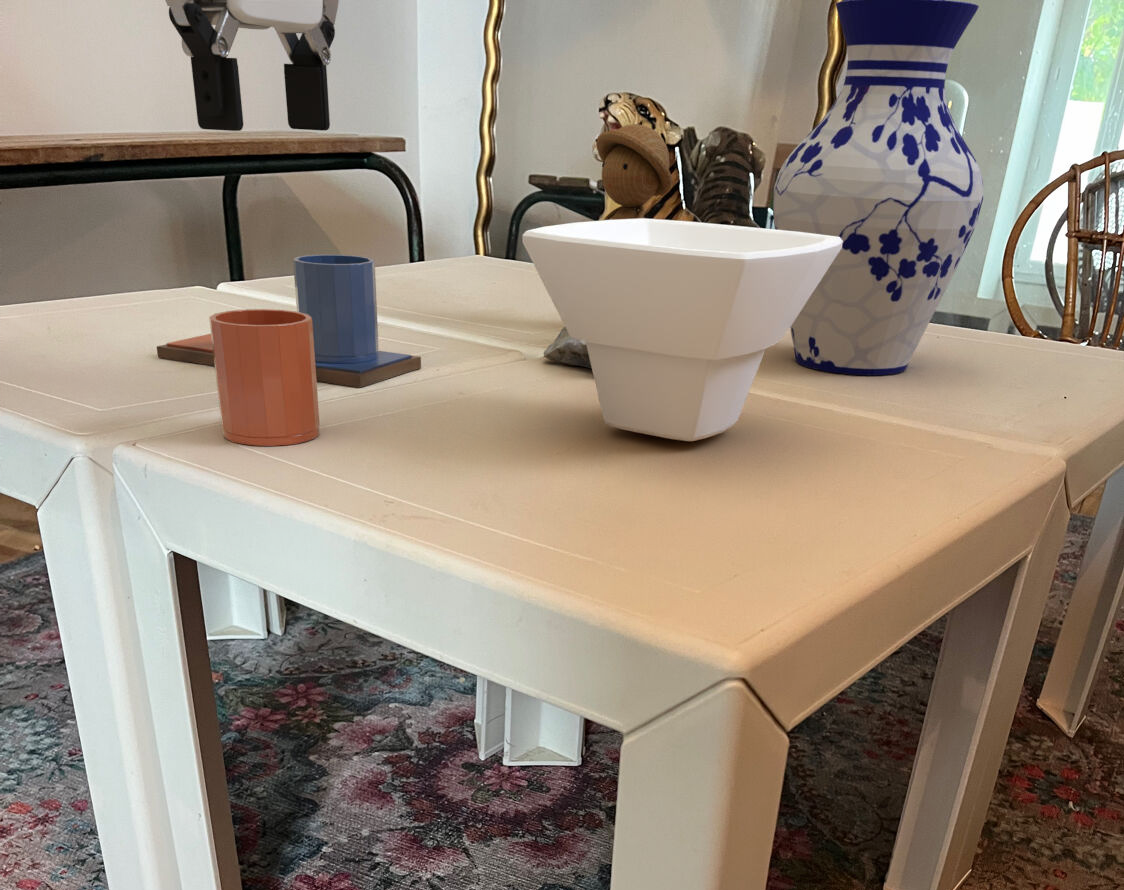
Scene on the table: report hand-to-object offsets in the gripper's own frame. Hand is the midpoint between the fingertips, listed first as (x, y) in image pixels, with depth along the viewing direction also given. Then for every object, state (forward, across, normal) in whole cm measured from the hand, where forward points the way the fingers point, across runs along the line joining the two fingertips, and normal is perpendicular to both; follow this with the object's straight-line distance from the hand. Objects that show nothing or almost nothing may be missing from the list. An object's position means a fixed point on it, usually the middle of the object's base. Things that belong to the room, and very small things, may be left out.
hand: (267, 129), depth 76 cm
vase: (+20, -46, +34) cm, 61 cm away
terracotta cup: (+19, +5, +2) cm, 20 cm away
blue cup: (+18, -16, -6) cm, 25 cm away
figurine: (+20, -51, +8) cm, 55 cm away
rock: (+20, -30, +13) cm, 38 cm away
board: (+19, -16, -12) cm, 28 cm away
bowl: (+20, -11, +27) cm, 35 cm away
